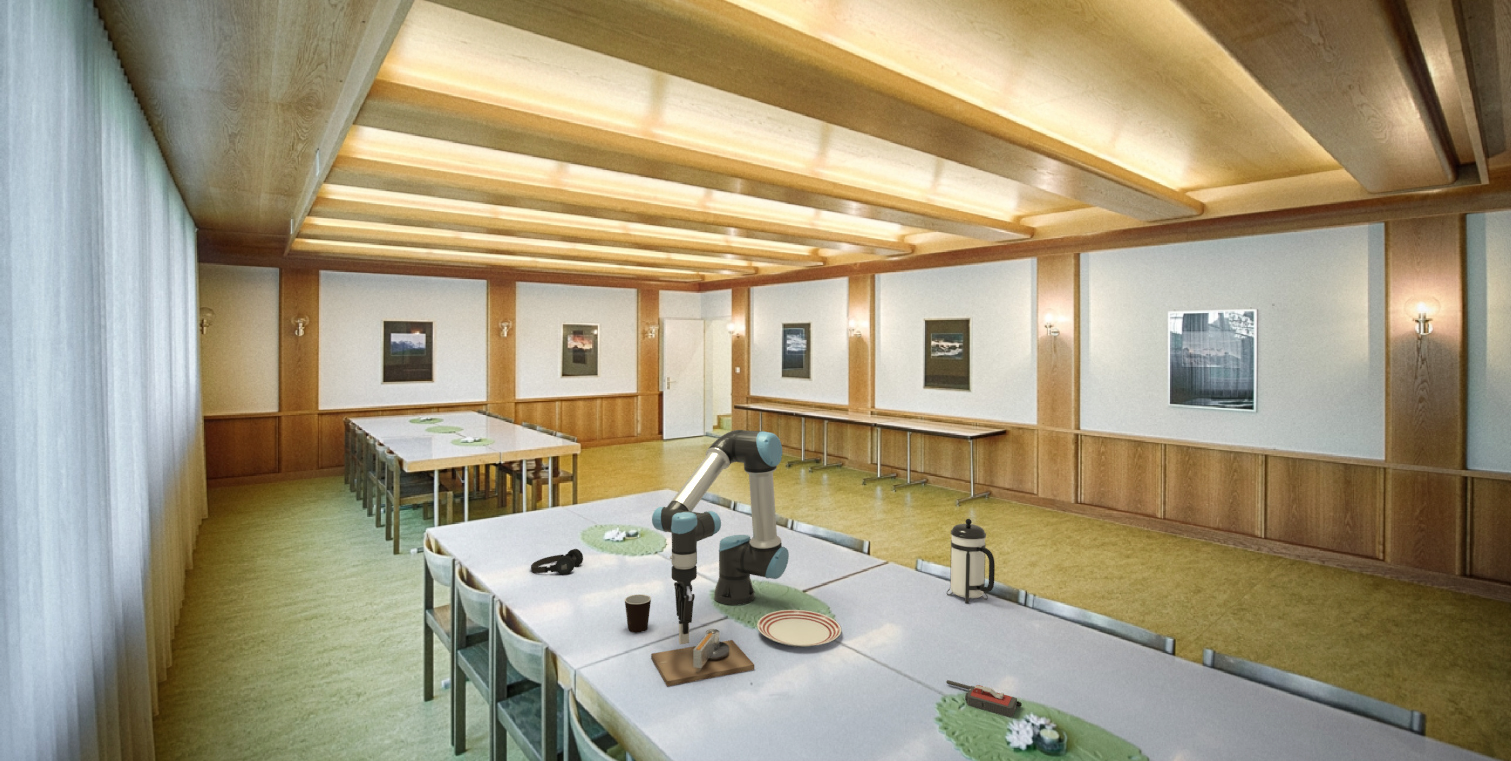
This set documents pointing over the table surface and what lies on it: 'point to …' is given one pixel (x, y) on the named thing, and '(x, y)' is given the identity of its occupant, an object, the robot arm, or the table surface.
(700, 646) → the lever handle
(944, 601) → the table surface
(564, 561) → the headphones
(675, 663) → the board
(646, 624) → the coffee mug
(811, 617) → the dinner plate
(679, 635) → the robot arm
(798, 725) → the table surface
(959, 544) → the coffee press
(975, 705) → the walkie-talkie
